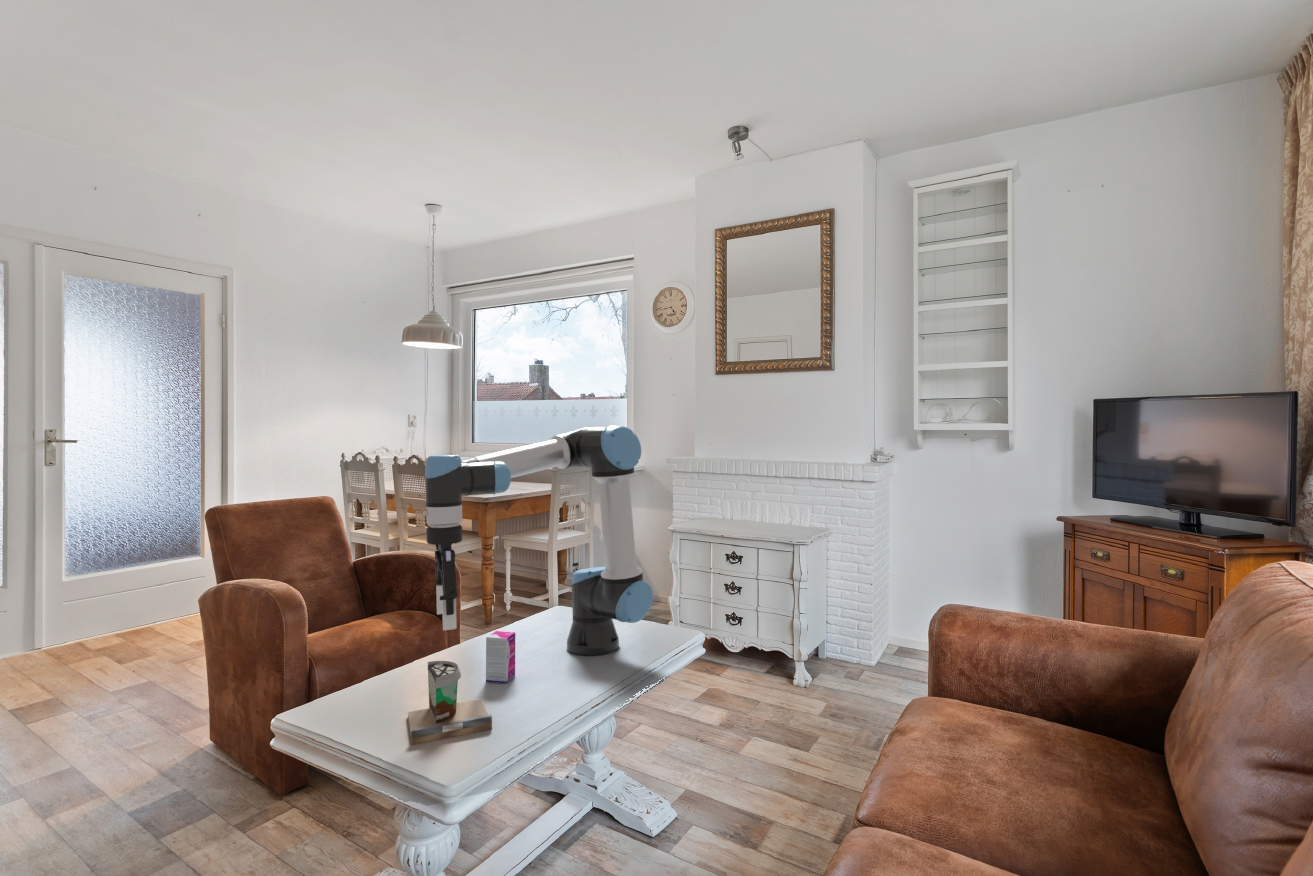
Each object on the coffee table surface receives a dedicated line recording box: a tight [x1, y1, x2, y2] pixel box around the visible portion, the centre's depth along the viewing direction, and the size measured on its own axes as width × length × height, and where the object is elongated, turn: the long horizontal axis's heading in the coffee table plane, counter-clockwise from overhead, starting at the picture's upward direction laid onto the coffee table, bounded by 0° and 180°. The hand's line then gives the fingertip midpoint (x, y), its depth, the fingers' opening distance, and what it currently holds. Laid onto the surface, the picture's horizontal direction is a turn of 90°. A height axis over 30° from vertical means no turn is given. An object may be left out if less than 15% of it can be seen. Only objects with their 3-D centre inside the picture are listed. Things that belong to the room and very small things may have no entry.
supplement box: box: [485, 630, 516, 684], centre depth 165 cm, size 6×6×12 cm
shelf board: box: [407, 698, 493, 745], centre depth 140 cm, size 16×14×3 cm
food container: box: [427, 660, 462, 723], centre depth 143 cm, size 12×6×10 cm, turn 28°
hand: (446, 621), depth 142 cm, fingers open, 13 cm apart
